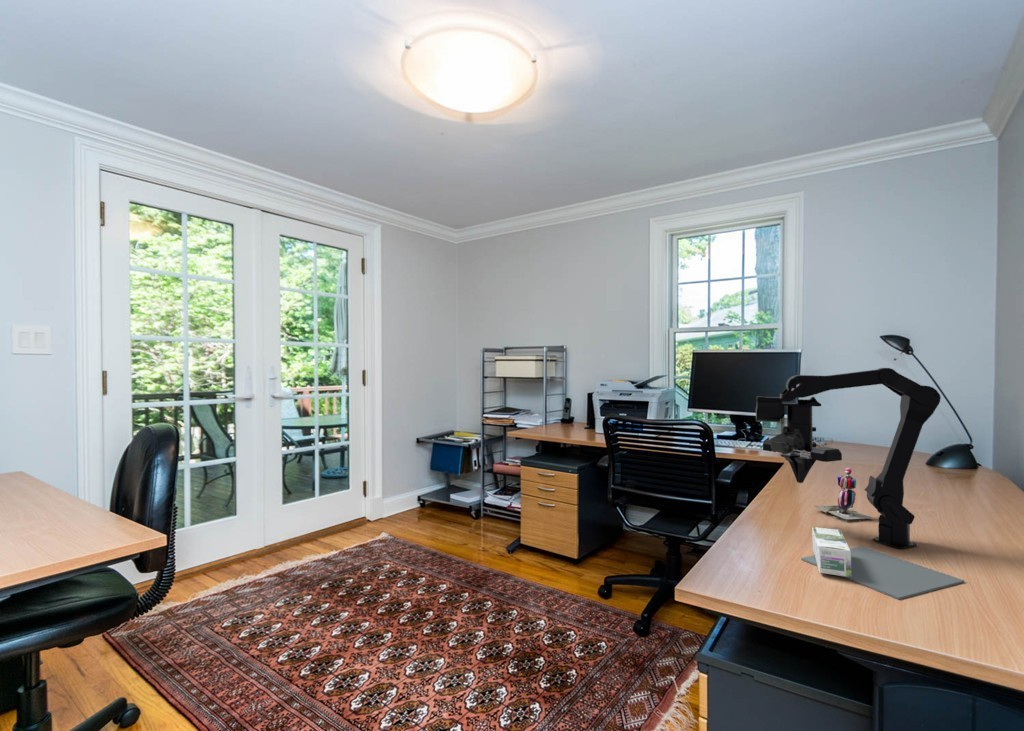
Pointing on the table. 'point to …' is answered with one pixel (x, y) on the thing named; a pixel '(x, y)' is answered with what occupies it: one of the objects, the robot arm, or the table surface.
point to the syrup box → (831, 551)
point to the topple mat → (892, 574)
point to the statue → (845, 500)
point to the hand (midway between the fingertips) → (800, 482)
